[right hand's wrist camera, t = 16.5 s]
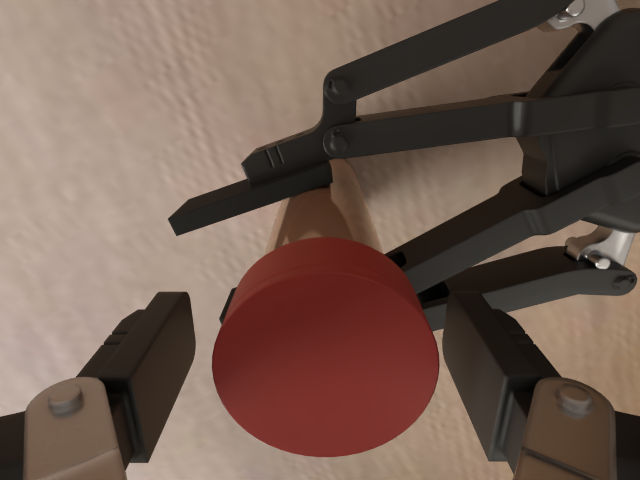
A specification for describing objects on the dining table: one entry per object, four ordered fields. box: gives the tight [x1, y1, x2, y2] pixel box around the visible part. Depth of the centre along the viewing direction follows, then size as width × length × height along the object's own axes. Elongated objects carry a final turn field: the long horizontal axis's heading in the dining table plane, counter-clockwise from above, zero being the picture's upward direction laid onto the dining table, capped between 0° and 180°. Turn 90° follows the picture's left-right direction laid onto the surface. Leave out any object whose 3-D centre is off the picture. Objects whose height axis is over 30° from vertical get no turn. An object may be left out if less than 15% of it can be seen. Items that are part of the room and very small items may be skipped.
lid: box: [212, 237, 439, 457], centre depth 10 cm, size 5×5×2 cm
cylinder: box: [264, 159, 384, 256], centre depth 17 cm, size 4×4×15 cm
